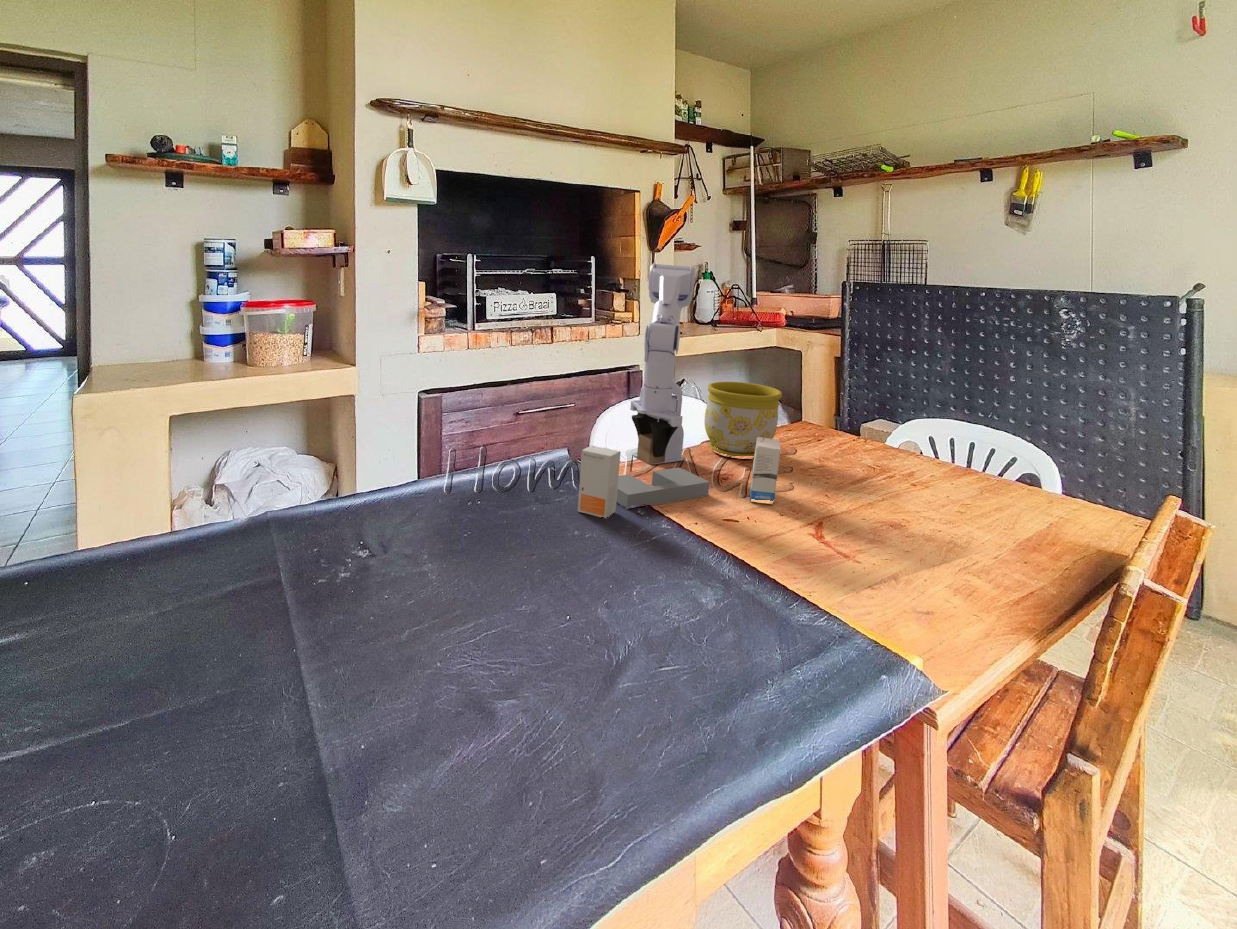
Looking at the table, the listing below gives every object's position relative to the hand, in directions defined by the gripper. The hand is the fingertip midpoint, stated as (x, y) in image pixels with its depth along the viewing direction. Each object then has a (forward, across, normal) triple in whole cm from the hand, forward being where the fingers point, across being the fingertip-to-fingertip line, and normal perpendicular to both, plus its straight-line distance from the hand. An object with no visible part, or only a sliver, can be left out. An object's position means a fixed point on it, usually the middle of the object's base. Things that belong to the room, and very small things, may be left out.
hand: (651, 453), depth 137 cm
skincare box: (+8, +6, -16) cm, 19 cm away
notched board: (+8, +2, 0) cm, 8 cm away
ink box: (+8, +12, +20) cm, 25 cm away
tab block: (+2, 0, 0) cm, 2 cm away
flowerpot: (+8, -15, +38) cm, 42 cm away
